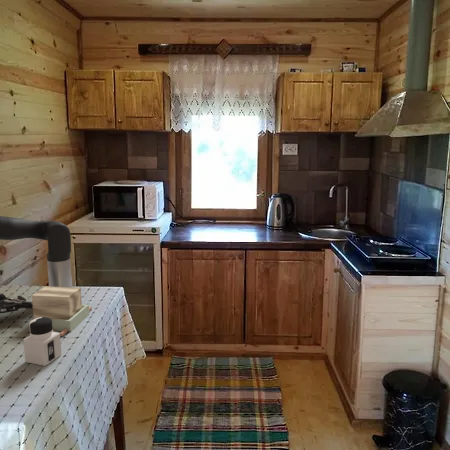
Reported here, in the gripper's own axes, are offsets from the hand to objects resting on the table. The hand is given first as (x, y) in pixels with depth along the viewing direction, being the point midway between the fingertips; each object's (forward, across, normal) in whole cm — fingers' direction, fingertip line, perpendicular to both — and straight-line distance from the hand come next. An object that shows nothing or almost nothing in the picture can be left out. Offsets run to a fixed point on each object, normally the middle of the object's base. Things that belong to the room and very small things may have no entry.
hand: (32, 305), depth 169 cm
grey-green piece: (+14, 0, +6) cm, 16 cm away
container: (+19, -28, +6) cm, 34 cm away
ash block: (+10, 0, +6) cm, 12 cm away
